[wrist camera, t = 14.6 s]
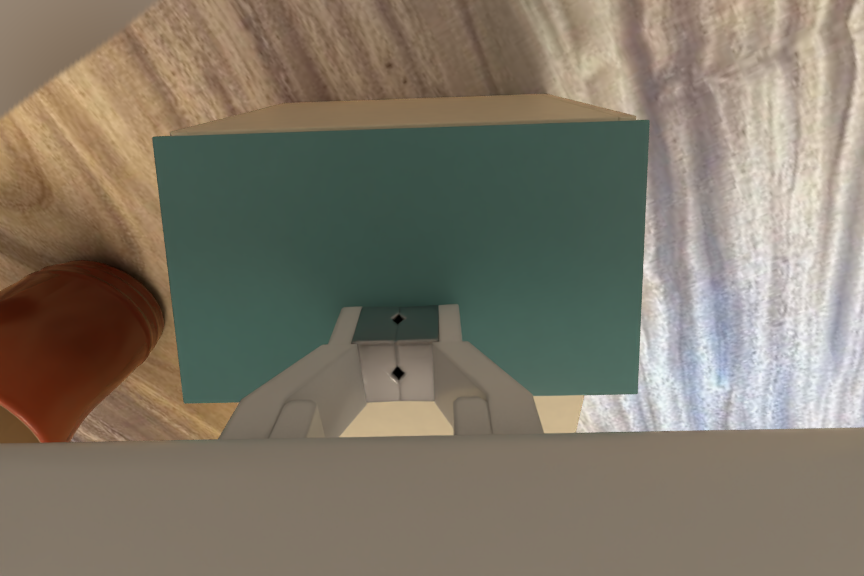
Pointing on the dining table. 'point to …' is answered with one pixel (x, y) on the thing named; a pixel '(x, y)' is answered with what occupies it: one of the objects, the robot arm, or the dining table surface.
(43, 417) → the mug
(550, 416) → the carton
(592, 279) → the flap
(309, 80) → the dining table surface
